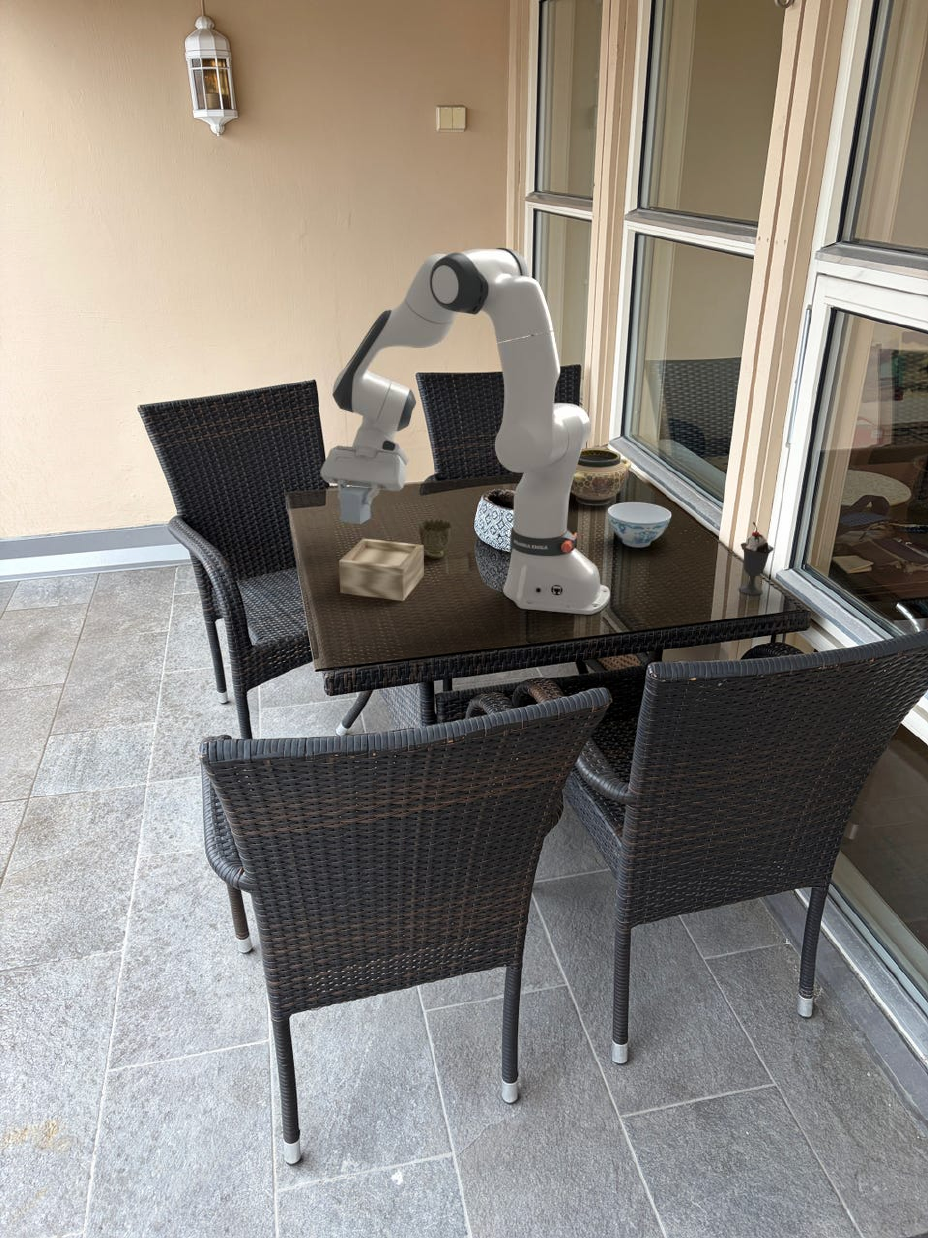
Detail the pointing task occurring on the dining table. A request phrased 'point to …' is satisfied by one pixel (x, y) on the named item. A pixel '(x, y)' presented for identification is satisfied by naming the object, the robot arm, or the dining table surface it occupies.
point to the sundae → (754, 560)
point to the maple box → (381, 569)
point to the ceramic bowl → (599, 476)
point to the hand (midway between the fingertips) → (353, 501)
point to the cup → (435, 537)
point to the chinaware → (638, 522)
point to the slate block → (354, 505)
